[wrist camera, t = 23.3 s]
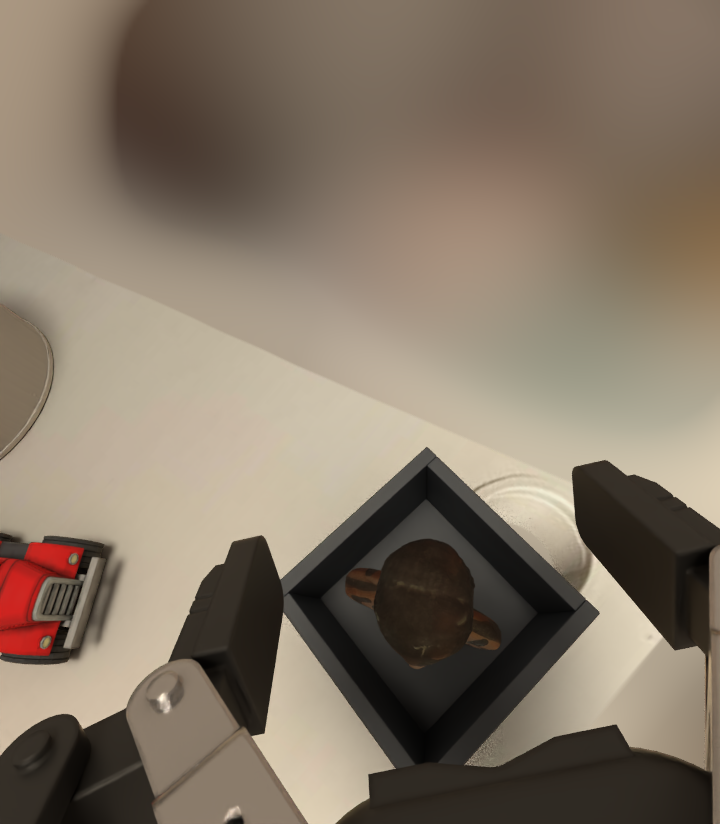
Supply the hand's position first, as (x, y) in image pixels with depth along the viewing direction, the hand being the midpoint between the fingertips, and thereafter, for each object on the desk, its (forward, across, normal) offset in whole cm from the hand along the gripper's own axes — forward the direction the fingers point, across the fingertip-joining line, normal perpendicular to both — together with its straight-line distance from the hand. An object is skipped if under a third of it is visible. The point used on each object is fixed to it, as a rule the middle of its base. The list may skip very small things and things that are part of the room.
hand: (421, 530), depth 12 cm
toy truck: (+20, +31, +11) cm, 39 cm away
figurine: (+14, 0, +16) cm, 21 cm away
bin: (+15, 0, +16) cm, 22 cm away
